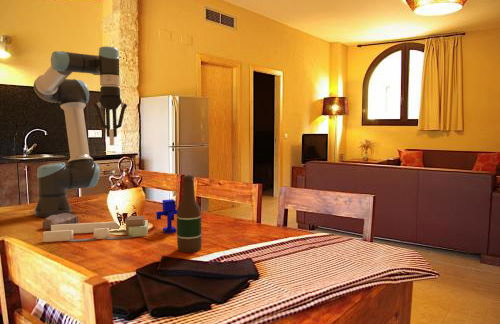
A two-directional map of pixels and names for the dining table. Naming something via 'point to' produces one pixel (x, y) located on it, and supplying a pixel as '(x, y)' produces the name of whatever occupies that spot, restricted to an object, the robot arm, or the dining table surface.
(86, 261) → the dining table surface
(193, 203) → the beer bottle
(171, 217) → the figurine
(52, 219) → the stone
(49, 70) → the robot arm
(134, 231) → the lane
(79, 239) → the grey thin bar
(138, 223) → the block
